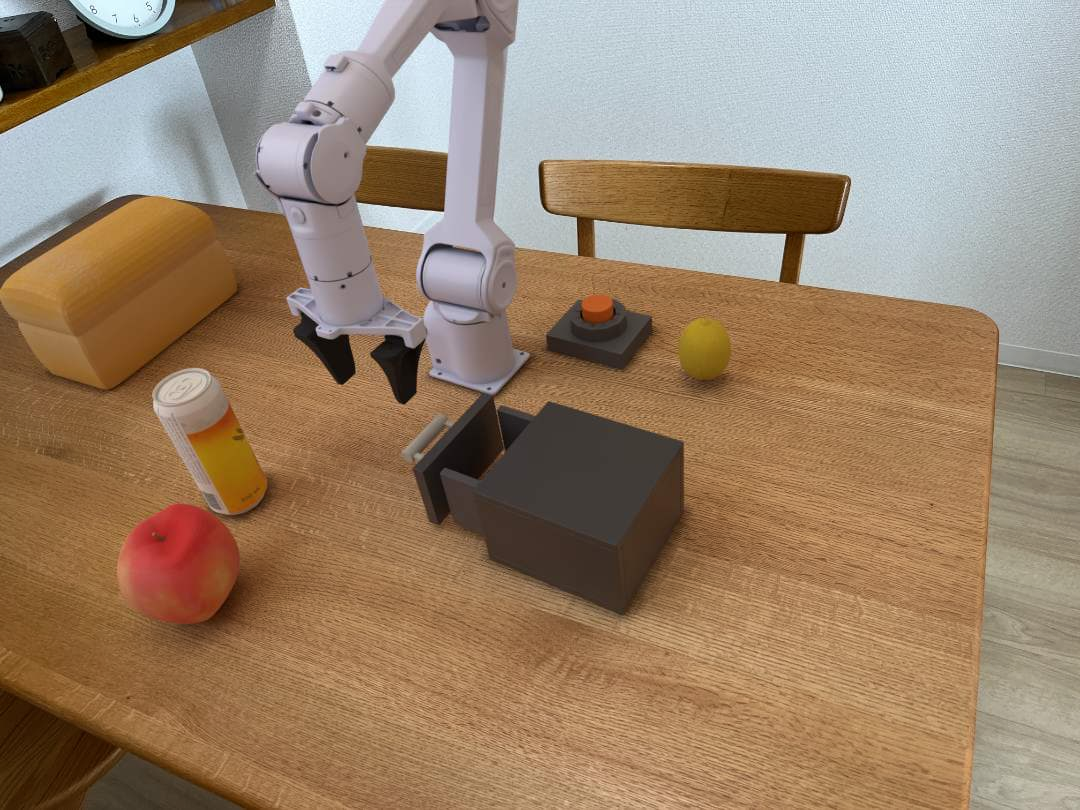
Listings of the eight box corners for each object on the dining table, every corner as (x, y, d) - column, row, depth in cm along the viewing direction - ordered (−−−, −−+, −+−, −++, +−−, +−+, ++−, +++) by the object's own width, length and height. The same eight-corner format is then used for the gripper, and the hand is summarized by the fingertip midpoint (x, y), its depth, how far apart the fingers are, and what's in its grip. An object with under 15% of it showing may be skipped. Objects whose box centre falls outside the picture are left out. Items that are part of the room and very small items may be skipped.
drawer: (395, 508, 79) (376, 454, 74) (462, 434, 85) (448, 381, 81) (541, 568, 71) (530, 513, 66) (601, 482, 78) (596, 427, 73)
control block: (547, 349, 96) (543, 322, 94) (579, 313, 101) (577, 286, 99) (622, 369, 92) (620, 341, 89) (652, 331, 97) (651, 303, 94)
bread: (111, 393, 100) (48, 291, 91) (44, 373, 106) (-21, 275, 96) (243, 288, 116) (203, 192, 106) (180, 275, 121) (136, 182, 112)
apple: (219, 544, 79) (177, 473, 72) (277, 590, 74) (237, 518, 67) (130, 613, 74) (77, 543, 67) (185, 668, 69) (133, 598, 62)
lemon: (728, 396, 86) (731, 336, 81) (676, 394, 88) (675, 334, 82) (730, 364, 90) (733, 304, 85) (680, 362, 92) (679, 304, 86)
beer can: (281, 480, 85) (228, 369, 75) (247, 524, 80) (187, 411, 71) (234, 471, 87) (176, 361, 77) (199, 513, 82) (133, 403, 73)
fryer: (489, 559, 74) (472, 491, 68) (558, 468, 81) (548, 400, 75) (623, 615, 67) (617, 546, 61) (684, 512, 75) (684, 441, 69)
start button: (577, 320, 94) (575, 308, 93) (591, 304, 96) (590, 291, 95) (604, 327, 92) (603, 314, 91) (618, 310, 95) (617, 297, 93)
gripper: (245, 272, 70) (293, 394, 78) (374, 305, 63) (411, 433, 72) (301, 234, 74) (340, 353, 83) (427, 261, 68) (455, 387, 76)
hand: (376, 388), depth 78 cm, fingers open, 7 cm apart
